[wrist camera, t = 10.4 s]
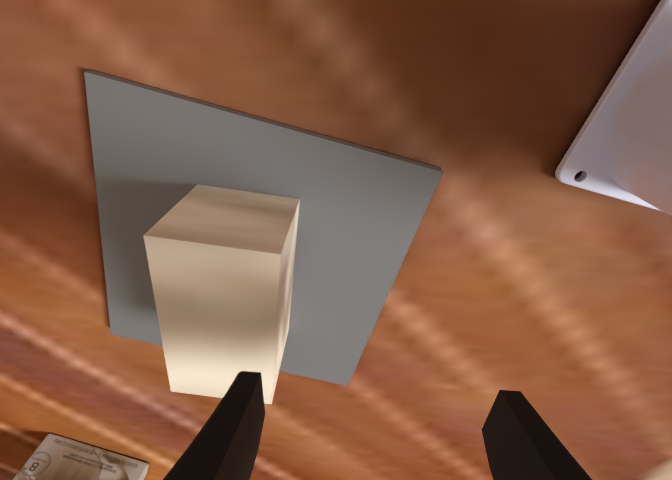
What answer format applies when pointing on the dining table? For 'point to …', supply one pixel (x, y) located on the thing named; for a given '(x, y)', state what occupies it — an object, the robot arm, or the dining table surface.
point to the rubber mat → (260, 177)
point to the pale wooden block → (223, 286)
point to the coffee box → (78, 463)
